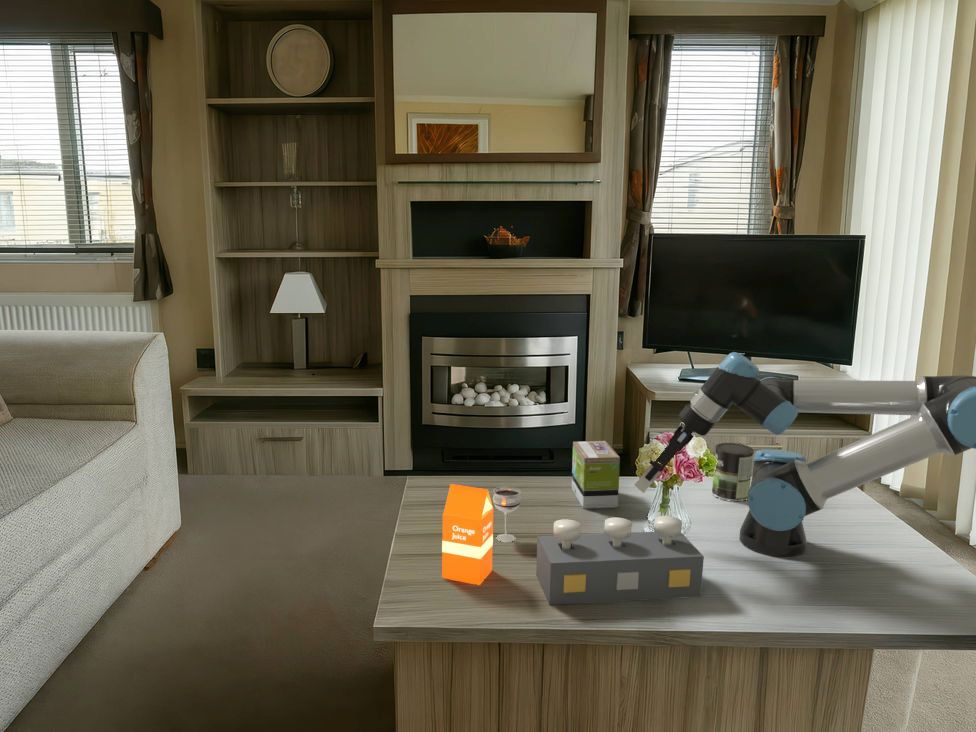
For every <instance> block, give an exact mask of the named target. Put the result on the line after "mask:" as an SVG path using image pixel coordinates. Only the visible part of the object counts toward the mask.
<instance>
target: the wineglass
mask: <svg viewBox="0 0 976 732" xmlns="http://www.w3.org/2000/svg"><path fill="white" fill-rule="evenodd" d="M492 492H493V496H492V504H493V505H494V507H495V508H496V509H497V510H498V511H500V512H502V513H503V514H504V533H502V534H501V533H500V534H498V535H496V536H497V537H496V536H495V540H496V539H497V540H498V541H497V540H496V541H497V542H500V541H501V542H502V543H513V542H515V541H516V539H517V538H516V536H515V535H513V534H510V533H507V532H508V519H509V518H508V517H509V514H510V513H512V512H514V511H516V510H517V509H518V508H519V507H520V505H521V500H522V498H521V496H520V494H521V493H522V491H521V490H520V488H517V487H514V486H507V485H506V486H503V485H502V486H498V487H495V488H494V489H493V490H492ZM514 536H515V537H514ZM512 541H513V542H512ZM501 542H500V543H501Z"/></svg>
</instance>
